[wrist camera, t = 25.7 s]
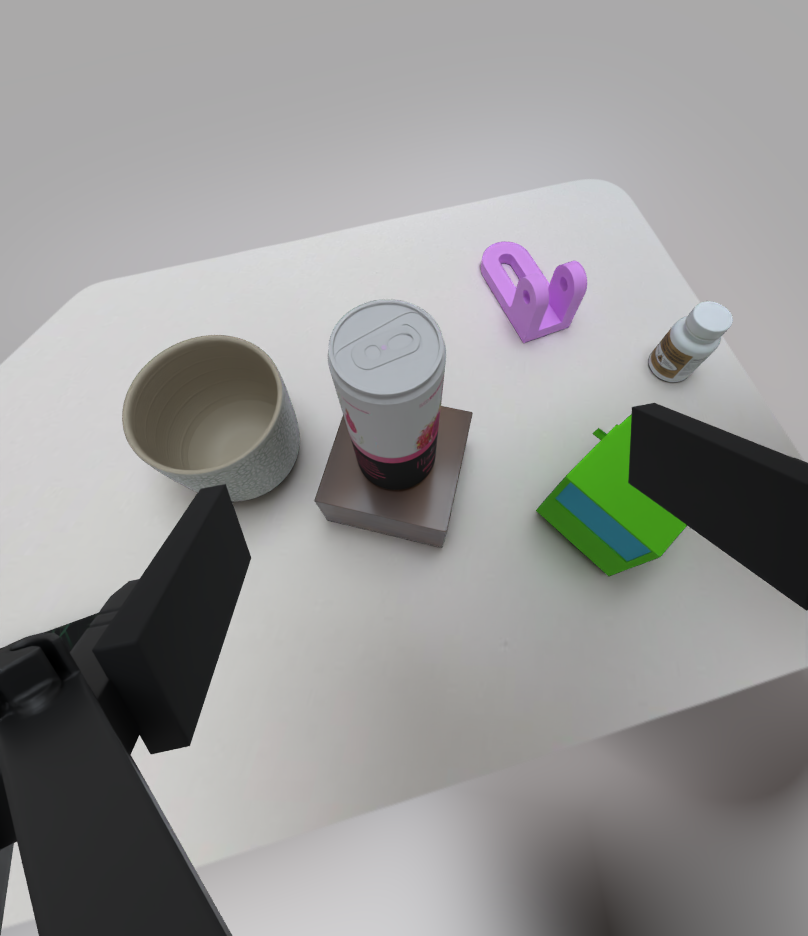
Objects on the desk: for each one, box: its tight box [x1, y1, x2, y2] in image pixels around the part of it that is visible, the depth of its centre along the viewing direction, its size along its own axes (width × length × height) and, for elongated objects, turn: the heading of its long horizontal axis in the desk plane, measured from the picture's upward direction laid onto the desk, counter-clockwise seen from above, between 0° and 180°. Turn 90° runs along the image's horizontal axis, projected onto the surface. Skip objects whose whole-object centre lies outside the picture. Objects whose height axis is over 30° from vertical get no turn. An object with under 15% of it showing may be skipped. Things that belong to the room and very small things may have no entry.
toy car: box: [536, 414, 687, 576], centre depth 38 cm, size 10×13×10 cm
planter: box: [122, 335, 300, 501], centre depth 40 cm, size 12×12×11 cm
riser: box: [315, 406, 472, 548], centre depth 41 cm, size 11×11×6 cm
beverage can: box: [328, 299, 446, 490], centre depth 31 cm, size 7×7×15 cm
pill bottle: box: [649, 301, 733, 382], centre depth 45 cm, size 4×4×8 cm
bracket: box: [481, 242, 587, 343], centre depth 49 cm, size 13×6×7 cm, turn 22°
